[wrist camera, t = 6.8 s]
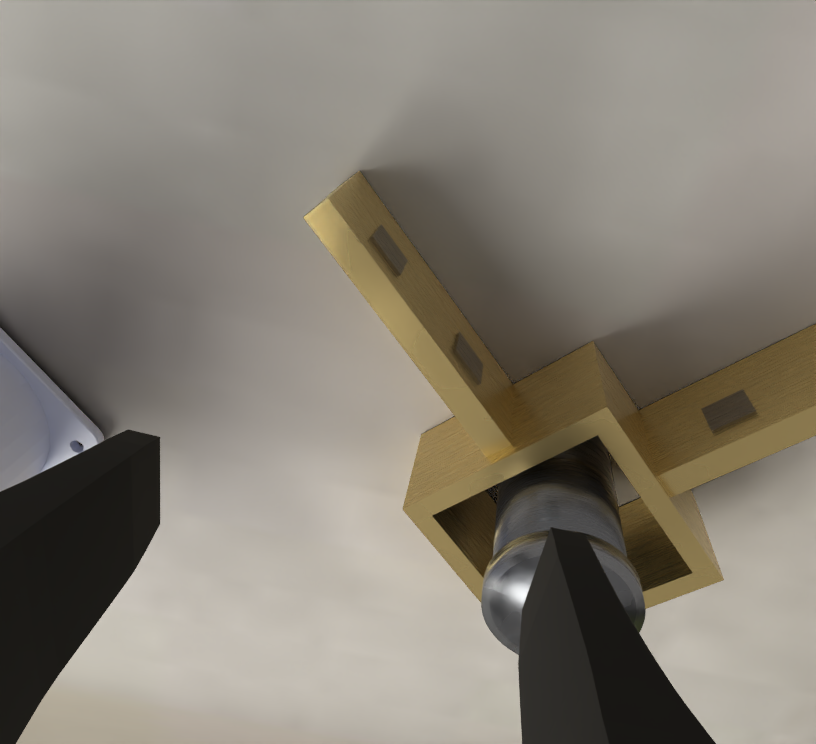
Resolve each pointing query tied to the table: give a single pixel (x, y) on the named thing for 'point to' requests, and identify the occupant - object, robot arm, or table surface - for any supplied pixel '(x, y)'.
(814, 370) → the gold square socket frame
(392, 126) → the table surface
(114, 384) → the table surface
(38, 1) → the table surface
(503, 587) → the pin
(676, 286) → the table surface
